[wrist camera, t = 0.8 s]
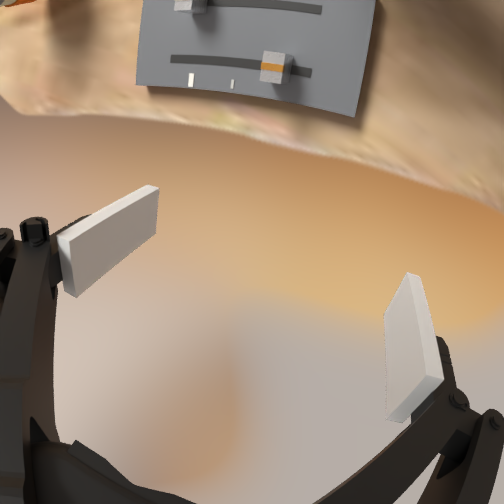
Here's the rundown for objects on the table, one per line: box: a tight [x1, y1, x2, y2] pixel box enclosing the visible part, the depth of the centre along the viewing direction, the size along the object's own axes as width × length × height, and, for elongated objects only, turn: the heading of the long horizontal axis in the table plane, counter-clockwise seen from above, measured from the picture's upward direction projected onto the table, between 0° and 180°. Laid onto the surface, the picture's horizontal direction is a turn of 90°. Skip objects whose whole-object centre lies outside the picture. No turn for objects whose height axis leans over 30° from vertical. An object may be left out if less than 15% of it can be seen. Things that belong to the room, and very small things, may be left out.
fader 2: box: [260, 51, 293, 84], centre depth 26 cm, size 2×3×3 cm, turn 171°
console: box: [136, 0, 376, 118], centre depth 28 cm, size 26×14×2 cm, turn 82°
